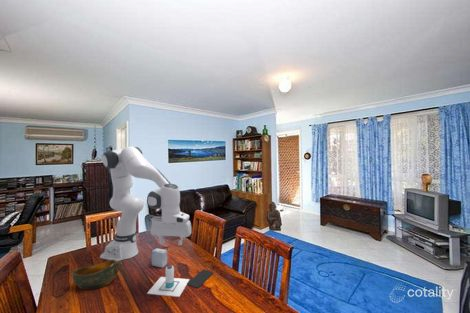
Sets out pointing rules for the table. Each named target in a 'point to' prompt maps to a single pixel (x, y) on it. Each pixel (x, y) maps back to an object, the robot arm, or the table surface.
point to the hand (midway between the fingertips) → (171, 244)
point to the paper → (174, 291)
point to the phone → (200, 278)
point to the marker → (169, 276)
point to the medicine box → (159, 257)
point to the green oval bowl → (96, 275)
